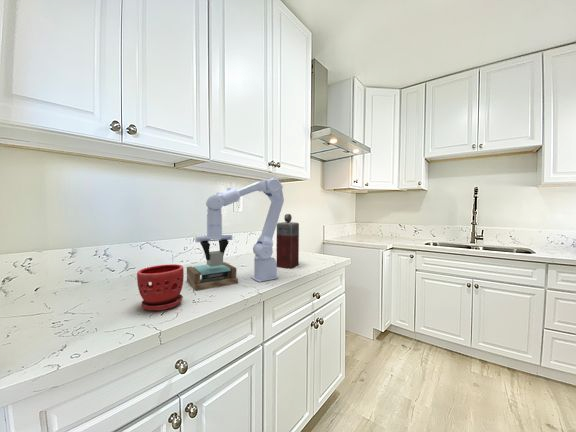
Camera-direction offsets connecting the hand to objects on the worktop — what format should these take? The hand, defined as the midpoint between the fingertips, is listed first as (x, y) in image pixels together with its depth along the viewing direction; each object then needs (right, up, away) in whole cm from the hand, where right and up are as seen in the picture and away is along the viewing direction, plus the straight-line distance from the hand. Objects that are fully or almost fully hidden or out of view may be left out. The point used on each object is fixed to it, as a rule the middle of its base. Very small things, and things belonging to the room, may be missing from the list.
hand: (214, 258), depth 100 cm
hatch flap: (-2, -8, +4) cm, 9 cm away
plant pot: (-11, -11, -21) cm, 26 cm away
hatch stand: (-2, -10, +4) cm, 11 cm away
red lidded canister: (+29, -10, +33) cm, 45 cm away
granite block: (0, -2, 0) cm, 2 cm away
